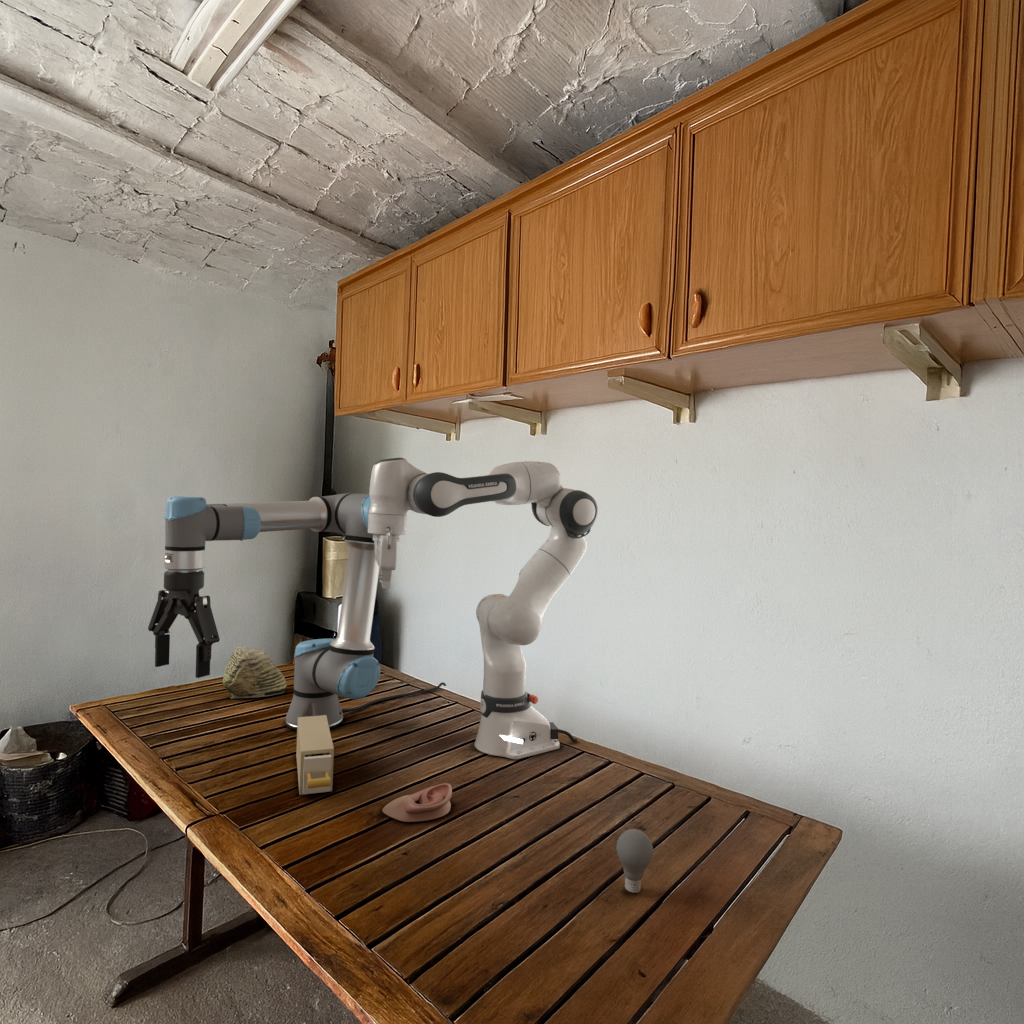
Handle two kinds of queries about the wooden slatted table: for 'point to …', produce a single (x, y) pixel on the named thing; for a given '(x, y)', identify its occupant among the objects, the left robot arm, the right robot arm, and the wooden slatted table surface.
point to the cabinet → (312, 742)
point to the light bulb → (634, 857)
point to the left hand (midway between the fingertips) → (181, 670)
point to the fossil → (252, 674)
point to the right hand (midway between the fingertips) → (384, 585)
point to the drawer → (317, 773)
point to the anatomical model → (421, 804)
